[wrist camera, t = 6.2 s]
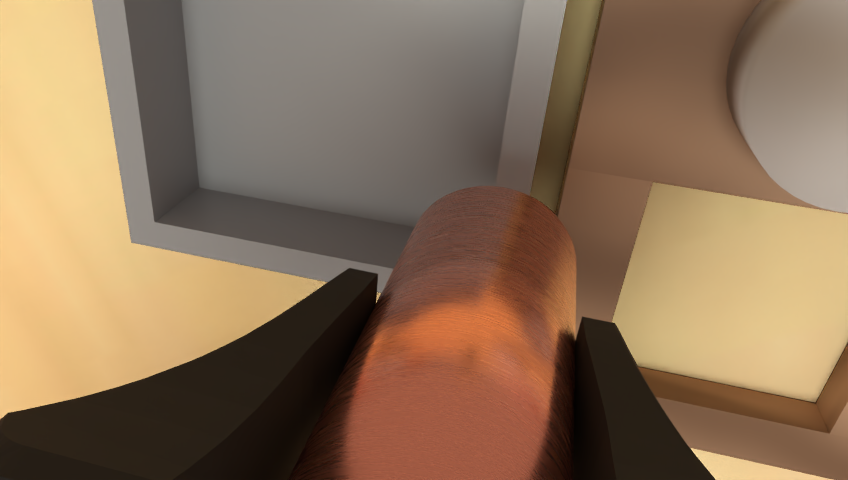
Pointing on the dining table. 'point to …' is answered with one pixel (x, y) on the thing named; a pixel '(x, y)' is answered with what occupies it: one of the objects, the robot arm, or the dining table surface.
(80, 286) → the dining table surface
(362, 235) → the tray
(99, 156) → the dining table surface
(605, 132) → the brown flat wooden frame
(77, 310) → the dining table surface
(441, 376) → the reddish brown cylinder
